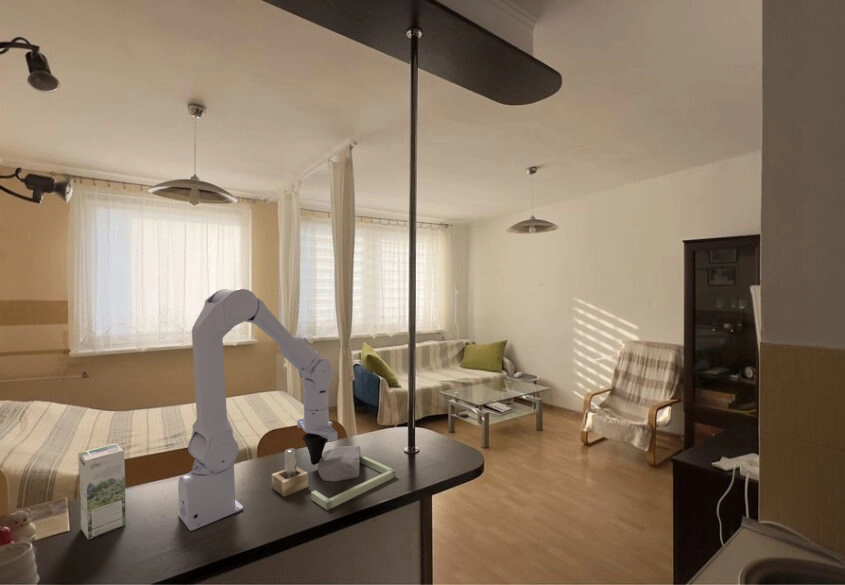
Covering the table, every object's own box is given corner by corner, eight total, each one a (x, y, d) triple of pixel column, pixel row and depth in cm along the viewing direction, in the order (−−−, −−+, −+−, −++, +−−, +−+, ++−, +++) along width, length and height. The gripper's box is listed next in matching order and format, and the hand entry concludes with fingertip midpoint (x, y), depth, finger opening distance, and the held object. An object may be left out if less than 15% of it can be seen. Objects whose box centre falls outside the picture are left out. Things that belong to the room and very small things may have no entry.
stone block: (319, 490, 88) (363, 477, 90) (313, 470, 88) (358, 457, 90) (324, 468, 100) (363, 457, 101) (320, 450, 100) (359, 439, 101)
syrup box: (118, 515, 77) (115, 441, 77) (127, 526, 74) (124, 448, 73) (80, 529, 73) (77, 451, 73) (87, 541, 69) (84, 459, 69)
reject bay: (327, 510, 77) (327, 502, 77) (296, 489, 85) (296, 482, 85) (395, 476, 90) (395, 470, 90) (363, 461, 98) (363, 455, 98)
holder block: (284, 496, 82) (283, 482, 82) (272, 487, 86) (271, 474, 86) (308, 486, 86) (307, 473, 86) (295, 478, 90) (295, 465, 90)
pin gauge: (298, 486, 86) (297, 450, 86) (288, 490, 85) (286, 453, 85) (294, 482, 88) (293, 447, 88) (283, 486, 87) (282, 450, 87)
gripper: (348, 409, 93) (348, 467, 93) (314, 398, 103) (314, 450, 103) (322, 416, 88) (322, 477, 88) (289, 404, 98) (289, 458, 98)
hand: (316, 463), depth 95 cm, fingers closed, pressing on stone block
